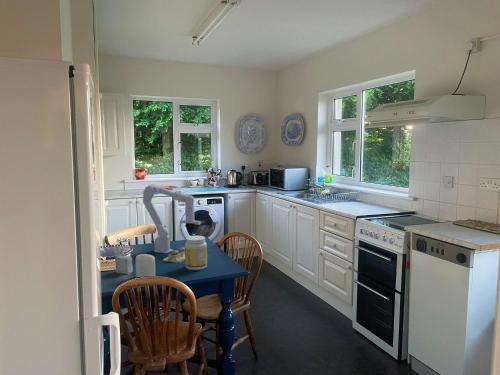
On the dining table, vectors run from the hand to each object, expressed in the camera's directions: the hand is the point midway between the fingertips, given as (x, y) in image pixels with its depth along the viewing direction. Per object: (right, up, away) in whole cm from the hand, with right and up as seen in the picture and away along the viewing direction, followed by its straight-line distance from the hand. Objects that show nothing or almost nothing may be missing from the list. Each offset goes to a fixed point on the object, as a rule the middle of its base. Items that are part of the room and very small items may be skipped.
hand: (190, 234), depth 246 cm
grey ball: (-4, -11, -13) cm, 17 cm away
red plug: (-1, -10, -6) cm, 11 cm away
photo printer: (-16, -16, -48) cm, 53 cm away
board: (-4, -12, -12) cm, 18 cm away
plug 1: (-6, -12, -19) cm, 23 cm away
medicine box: (-30, -16, -40) cm, 52 cm away
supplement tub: (+8, -14, -33) cm, 37 cm away
